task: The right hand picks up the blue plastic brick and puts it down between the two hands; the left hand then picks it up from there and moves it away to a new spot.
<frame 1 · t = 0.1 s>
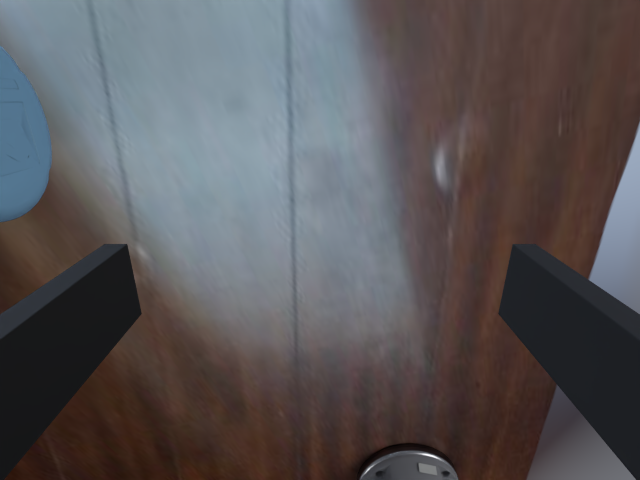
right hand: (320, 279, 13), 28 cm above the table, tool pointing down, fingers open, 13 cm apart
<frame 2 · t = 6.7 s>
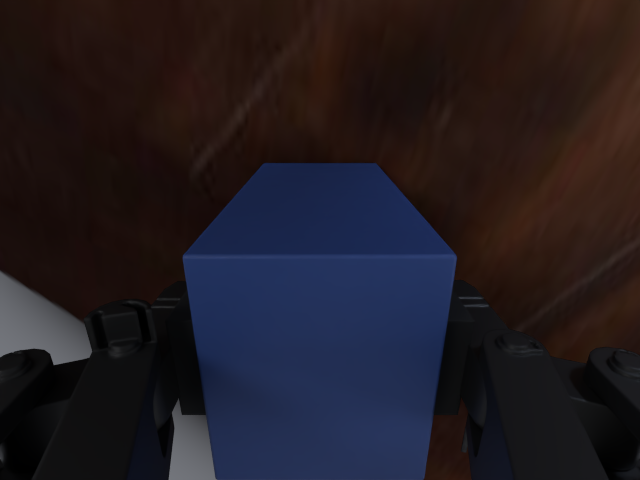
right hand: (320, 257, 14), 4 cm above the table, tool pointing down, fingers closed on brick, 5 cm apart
brick: (319, 226, 18), on the table, touching right hand
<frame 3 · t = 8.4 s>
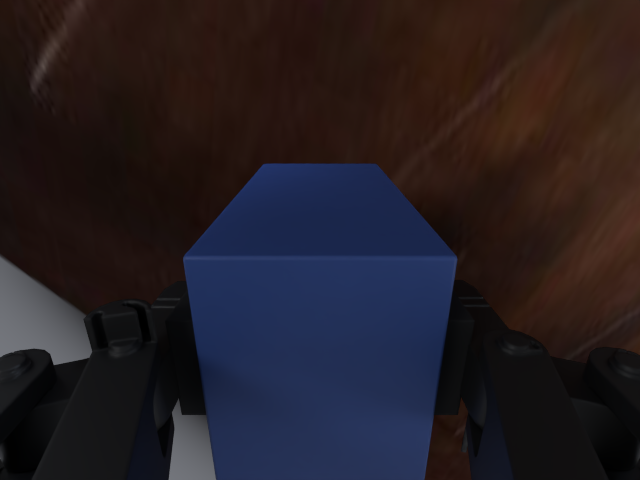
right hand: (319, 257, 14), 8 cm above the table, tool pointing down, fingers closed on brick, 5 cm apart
brick: (320, 226, 18), point 4 cm above the table, touching right hand
when the right hand's fingers open (5 cm above the table, at t = 10.6 s): brick drops 1 cm, on the table.
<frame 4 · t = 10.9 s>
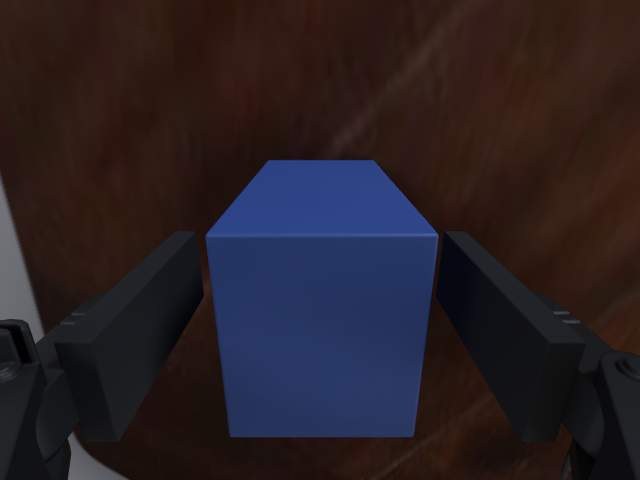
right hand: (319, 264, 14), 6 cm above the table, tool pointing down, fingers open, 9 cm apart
brick: (320, 219, 19), on the table
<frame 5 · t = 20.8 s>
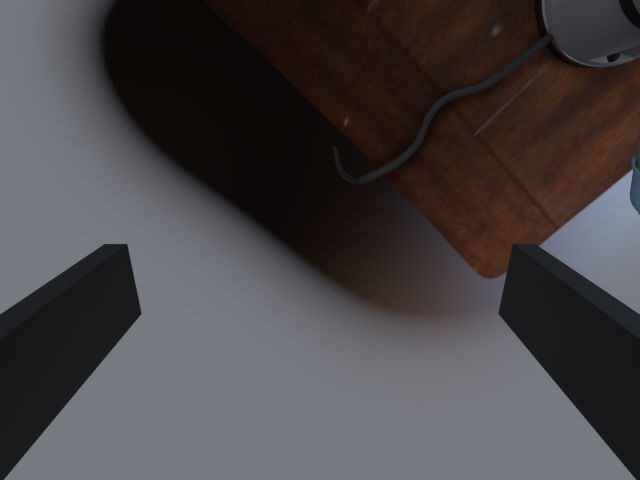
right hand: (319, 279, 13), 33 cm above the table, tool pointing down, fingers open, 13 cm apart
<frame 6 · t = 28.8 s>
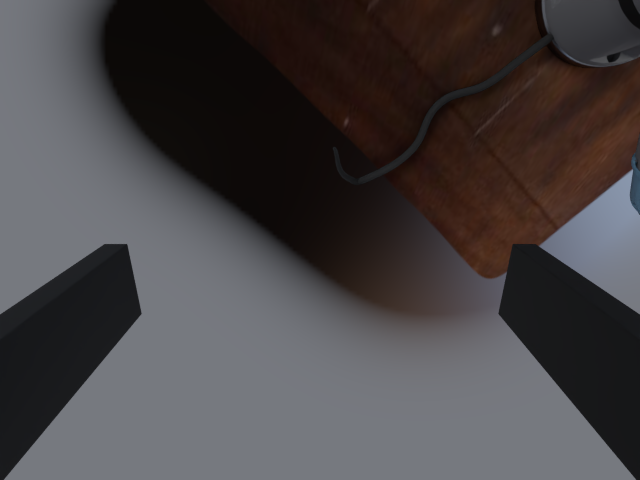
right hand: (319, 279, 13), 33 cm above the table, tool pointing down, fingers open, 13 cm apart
when the left hand's fingers open (5 cm above the table, at t = 37.0 s): brick drops 1 cm, on the table.
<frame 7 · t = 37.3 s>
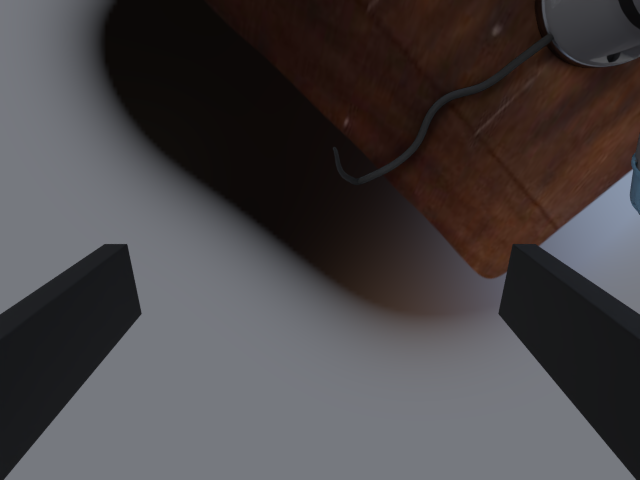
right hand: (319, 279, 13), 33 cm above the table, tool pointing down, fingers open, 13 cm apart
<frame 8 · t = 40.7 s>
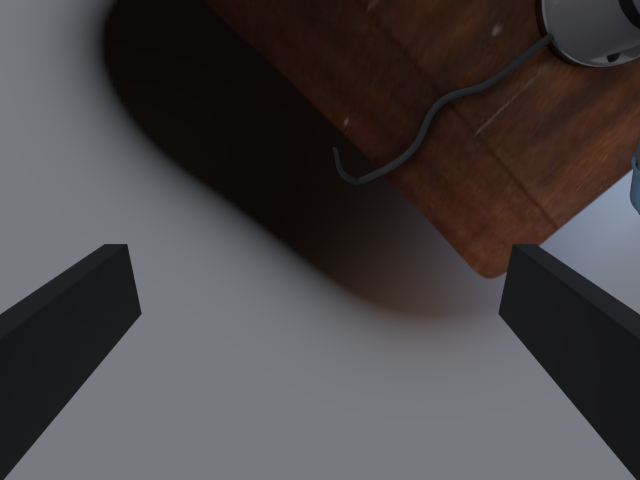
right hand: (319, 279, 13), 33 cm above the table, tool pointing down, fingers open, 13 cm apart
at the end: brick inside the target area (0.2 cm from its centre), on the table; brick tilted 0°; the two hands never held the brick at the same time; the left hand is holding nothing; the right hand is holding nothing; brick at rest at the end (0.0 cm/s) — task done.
